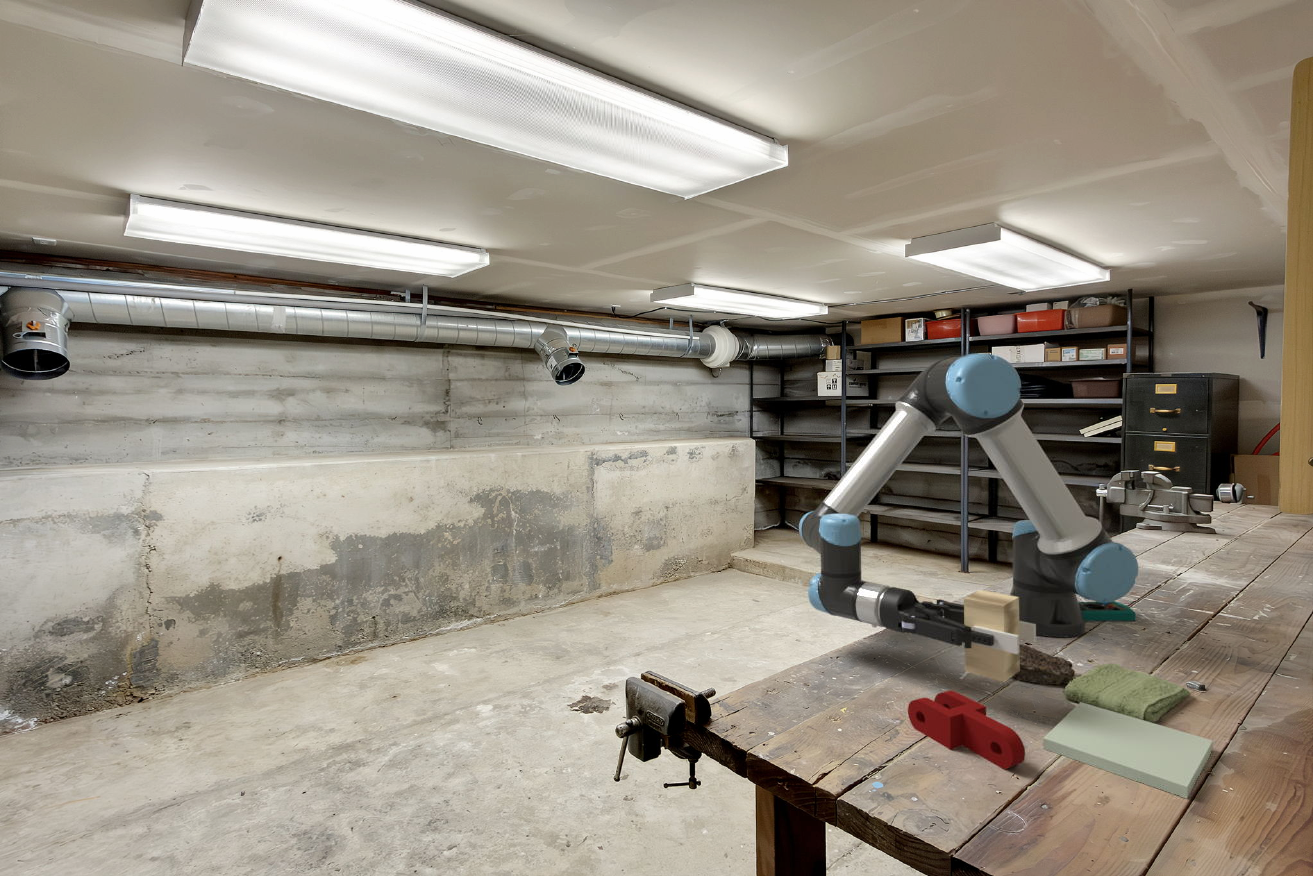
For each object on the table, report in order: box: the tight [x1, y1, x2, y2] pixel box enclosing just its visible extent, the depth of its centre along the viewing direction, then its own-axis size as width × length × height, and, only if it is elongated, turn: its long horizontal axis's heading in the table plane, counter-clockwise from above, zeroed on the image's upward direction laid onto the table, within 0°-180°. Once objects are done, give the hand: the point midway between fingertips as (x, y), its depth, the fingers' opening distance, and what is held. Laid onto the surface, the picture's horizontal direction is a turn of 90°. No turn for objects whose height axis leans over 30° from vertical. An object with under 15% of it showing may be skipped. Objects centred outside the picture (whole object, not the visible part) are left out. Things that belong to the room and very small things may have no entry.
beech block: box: [963, 589, 1020, 683], centre depth 104 cm, size 6×6×12 cm
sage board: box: [1042, 702, 1214, 800], centre depth 91 cm, size 16×16×2 cm
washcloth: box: [1063, 663, 1191, 724], centre depth 107 cm, size 13×18×3 cm
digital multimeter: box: [1078, 601, 1137, 622], centre depth 146 cm, size 7×15×3 cm, turn 87°
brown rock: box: [1013, 643, 1076, 685], centre depth 115 cm, size 12×10×5 cm
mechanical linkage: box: [907, 690, 1026, 770], centre depth 93 cm, size 16×7×5 cm, turn 24°
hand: (1026, 638), depth 100 cm, fingers closed on beech block, 6 cm apart
